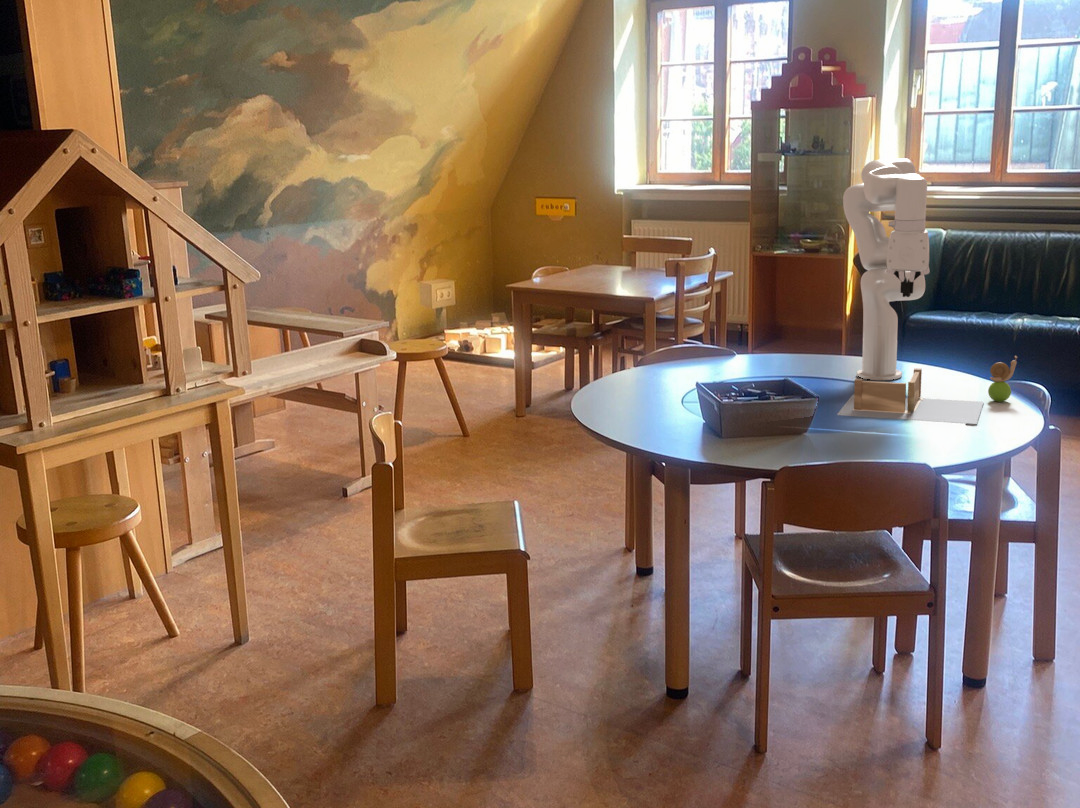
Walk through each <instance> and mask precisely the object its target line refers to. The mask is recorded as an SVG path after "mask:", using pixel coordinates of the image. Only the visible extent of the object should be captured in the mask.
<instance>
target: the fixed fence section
mask: <svg viewBox="0 0 1080 808" xmlns="http://www.w3.org/2000/svg"><path fill="white" fill-rule="evenodd" d="M853 385H854V386H853V387H854V389H853V391H854V393H853V395H854V410H875V411H892V412H905V401H906V397H907V396H906V395H907V394H906V393H907V383H906V382H890V381H889V382H888V381H887V382H886V381H875V380H868V381H867V380H864V379H862V378H855V379H854V384H853Z"/></svg>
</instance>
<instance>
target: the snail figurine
mask: <svg viewBox="0 0 1080 808" xmlns="http://www.w3.org/2000/svg"><path fill="white" fill-rule="evenodd" d="M1017 359H1018V356H1017V355H1014V359H1013V360H1012V361H1010V367H1009V366H1008V365H1007V363H1005V362H1001V361H1000V362H999V361H998V362H995V363H993V365H991V367H990V369H989V370H990V371H989V372H990V375H991V376H990V377H989V379H990V380H991V381H993V383H991V384H990V385H989V387H988V390H987V393H988V396H989V398H990V399H991V400H992V401H994V402H998V403H1001V402H1005V401H1007V400H1008V399H1009V398H1010V397H1011V394H1012V388H1011V386H1010V385H1009V383H1008V382H1007V381H1009V380H1010V379H1011V378H1012V377H1013V375H1014V372H1015V369H1016V366H1017Z"/></svg>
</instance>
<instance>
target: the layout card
mask: <svg viewBox="0 0 1080 808" xmlns="http://www.w3.org/2000/svg"><path fill="white" fill-rule="evenodd" d="M907 406H908V396H906V401H905V412H892V411H875V410H854V394H852V395H851V396H850V397H849V399H847V401H846V402H845V404H844V405H843V406H842V407H841V408H840V410H838V413H836V416H844V417H845V416H846V417H858V418H859V417H862V418H863V417H864V418H874V419H875V418H876V419H877V418H878V419H893V420H905V421H906V420H909V421H924V422H940V423H941V422H942V423H951V424H952V423H954V424H965V426H977V424H978V422H979V419H980V416H981V413H982V410H983V406H984V401H975V400H974V401H973V400H959V399H941V398H922V397H919V398H918V401H917V403H916V405H915V408H914V411H913V412H910V411H907Z"/></svg>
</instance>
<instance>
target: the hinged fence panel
mask: <svg viewBox="0 0 1080 808" xmlns="http://www.w3.org/2000/svg"><path fill="white" fill-rule="evenodd" d="M922 374H923V373H922V368H915V367H914V369H913V375H912V377H911V379H910V381H907V383H908V385H907V398H908V406H907V411H910V412H913V411H914V408H915V405H916V403H917V401H918V398H921V396H922Z"/></svg>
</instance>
